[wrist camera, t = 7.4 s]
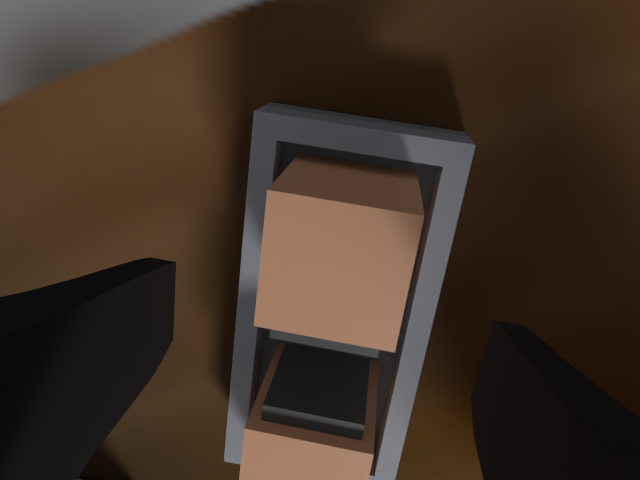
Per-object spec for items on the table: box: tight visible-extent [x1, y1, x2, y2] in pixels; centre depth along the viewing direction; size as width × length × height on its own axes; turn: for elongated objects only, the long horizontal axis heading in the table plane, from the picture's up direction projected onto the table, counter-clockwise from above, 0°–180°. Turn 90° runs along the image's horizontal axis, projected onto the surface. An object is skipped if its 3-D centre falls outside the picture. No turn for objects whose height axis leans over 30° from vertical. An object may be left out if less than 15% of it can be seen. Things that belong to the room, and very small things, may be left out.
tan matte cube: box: [254, 152, 424, 358], centre depth 16 cm, size 5×4×5 cm
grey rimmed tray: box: [224, 102, 476, 480], centre depth 18 cm, size 14×7×6 cm, turn 172°
